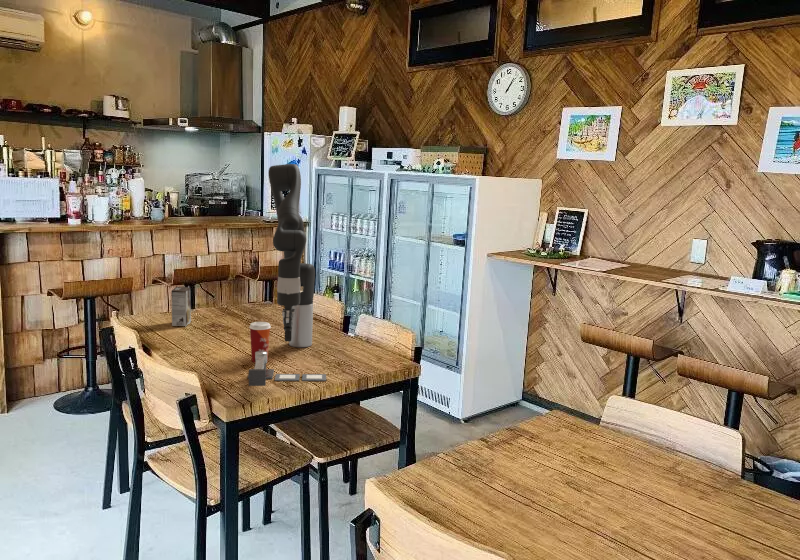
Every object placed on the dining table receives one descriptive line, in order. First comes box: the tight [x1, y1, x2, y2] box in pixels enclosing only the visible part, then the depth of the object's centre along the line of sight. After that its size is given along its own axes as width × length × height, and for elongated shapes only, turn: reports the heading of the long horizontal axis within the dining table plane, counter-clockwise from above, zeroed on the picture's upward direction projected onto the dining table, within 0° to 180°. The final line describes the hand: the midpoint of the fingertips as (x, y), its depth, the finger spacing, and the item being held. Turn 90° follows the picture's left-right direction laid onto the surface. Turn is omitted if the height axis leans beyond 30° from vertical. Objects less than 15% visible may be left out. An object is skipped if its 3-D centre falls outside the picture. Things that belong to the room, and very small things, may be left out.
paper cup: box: [248, 321, 272, 364], centre depth 222 cm, size 8×8×14 cm
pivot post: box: [247, 363, 275, 380], centre depth 207 cm, size 8×8×4 cm
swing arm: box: [248, 351, 268, 387], centre depth 198 cm, size 23×5×5 cm, turn 9°
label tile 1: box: [274, 373, 301, 382], centre depth 206 cm, size 6×8×1 cm
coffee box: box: [170, 286, 192, 328], centre depth 267 cm, size 9×6×16 cm
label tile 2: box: [301, 373, 327, 382], centre depth 207 cm, size 6×8×1 cm
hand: (288, 340), depth 204 cm, fingers closed
